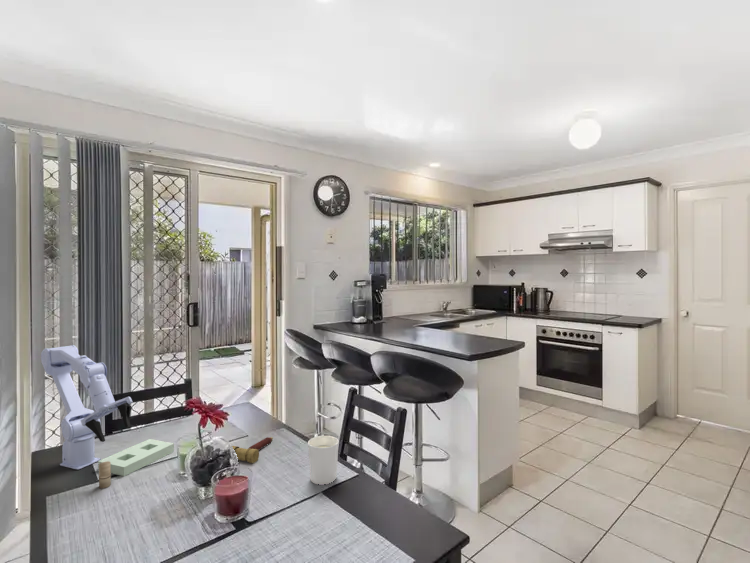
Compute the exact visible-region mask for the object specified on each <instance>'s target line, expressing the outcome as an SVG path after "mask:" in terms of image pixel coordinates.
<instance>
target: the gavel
mask: <svg viewBox="0 0 750 563" xmlns="http://www.w3.org/2000/svg"><path fill="white" fill-rule="evenodd" d="M273 439H274V438H273V436H270V437H269V436H267V437H264V438H263V439H262V440H260V441H258V442H256V443H254V444H252V445H250V446H249V447H248V448H242V447H240V446H235V445H232V446H231V447H233V449H234V450H235V452H236V454H237V457H238V459H239V460H238V461H243V462H247V463H249V464H255V463H256V462H258V460H259V457H260V450H261V449H263V448H265V447H266V446H268V445H269V444H270V443H271V442H272V441H273ZM267 444H268V445H267ZM264 446H265V447H264Z"/></svg>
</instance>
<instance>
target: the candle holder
mask: <svg viewBox="0 0 750 563" xmlns="http://www.w3.org/2000/svg"><path fill="white" fill-rule="evenodd" d="M339 444H340V442H339V439H338V438H337V437H335V436H332V435H318V436H315V437H312V438H310V439H309V440H308V441H307V448H308V462H309V464H308V466H309V478H310V482H311V483H313V484H315V485H318V484H319V485H320V486H324V484H326V485H330V484H332V483H334V482H335V481H336V480H337V475H338V474H337V473H338V461H339V459H338V457H339V456H338V455H339ZM335 479H336V480H335ZM334 480H335V481H334ZM333 481H334V482H333ZM331 482H332V483H331ZM329 483H330V484H329ZM319 485H318V486H319Z"/></svg>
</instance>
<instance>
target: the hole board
mask: <svg viewBox="0 0 750 563" xmlns="http://www.w3.org/2000/svg"><path fill="white" fill-rule="evenodd" d="M174 452H175V444H174V443H173V442H168V441H163V440H157V439H153V438H148V439H146V440H144V441H142V442H139V443H137V444H135V445H132V446H130V447H128V448H127V447H126V448H125V449H122V450H121V451H119V452H116V453H114V454H112V455H110V456H107V457H105V458H103V459H101V460H100V461H97V462H98V463H97V466H98V467H97V471H99V464H100V463H102V462H107V461H109V462H111V475H112V474H113V475H116V476H121V477H126V476H128V475H130V474H132V473H134V472H136V471H138V470H140V469H142V468H144V467H146V466H147V465H150V464H152V463H154V462H157V461H158V460H160V459H163V458H164V457H165V456H168V455H170V454H172V453H174Z"/></svg>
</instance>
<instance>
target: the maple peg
mask: <svg viewBox="0 0 750 563" xmlns="http://www.w3.org/2000/svg"><path fill="white" fill-rule="evenodd" d="M111 478H112V473H111V462H109V461H107V462H102V463H100V464H99V470H98V487H99V489H102V490H103V489H108V488H110V487H111V485H112V481H111V480H112V479H111Z"/></svg>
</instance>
